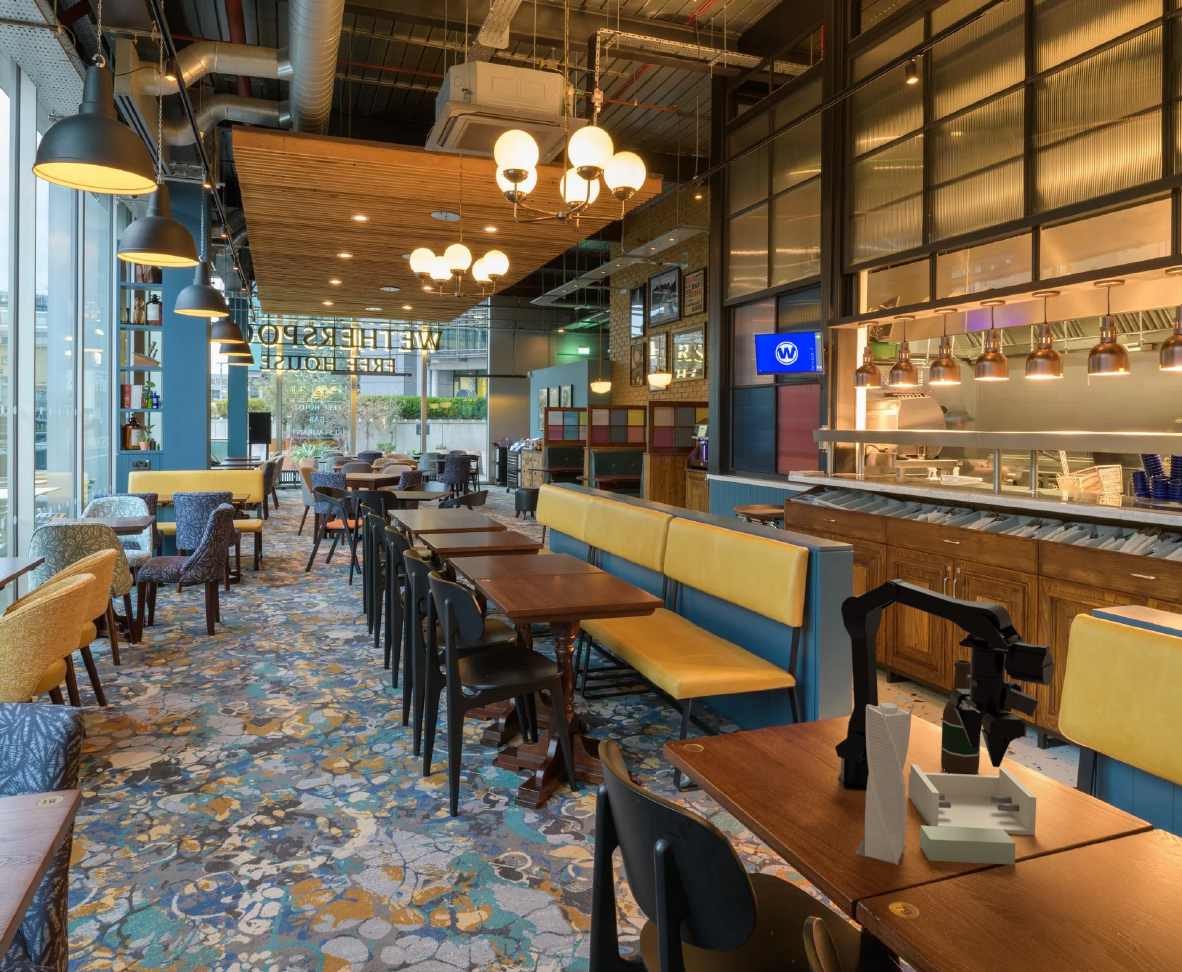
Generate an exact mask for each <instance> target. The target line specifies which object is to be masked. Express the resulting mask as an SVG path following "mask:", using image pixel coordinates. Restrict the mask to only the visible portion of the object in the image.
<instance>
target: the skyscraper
mask: <svg viewBox="0 0 1182 972" xmlns="http://www.w3.org/2000/svg"><path fill="white" fill-rule="evenodd" d="M900 700H904V701H907V702H910V704H911V706H910V709H909V712H908V711H906V710H903V709H901V708H899V707H898V704H896V703H897V701H900ZM914 706H915V702H914V701H913V700H912V699H911V698H908V697H907V696H904V695H903V696H902V695H899V696H897V697H895V699H894V700H893V702H892V703H891V702H881V703H879V705H878V706H873V705H870V704H867V706H866V748H867V760H868V768H869V775H868V782H867V790H866V792H865V801H864V802H865V810H864V813H865V814H864V819H863V826H864V827H863V829H864V833H863V839H862V840H861V842H860V845H859V846H858V848H857V850H856V851H855V855H856V856H862V857H864V858H868V859H871V860H872V859H873V860H875V861H881V862H884V863H888V864H891V865H895V866H898V865H900V862H901V859H902V858H903V855H904V852H905V849H906V846H905V841H906V829H907V795H906V794H907V793H906V784H905V778H904V777H905V776H904V768H905V764H906V762H907V756H908V751H909V744H910V736H911V725H912V714H913V710H914V708H915V707H914Z"/></svg>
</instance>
